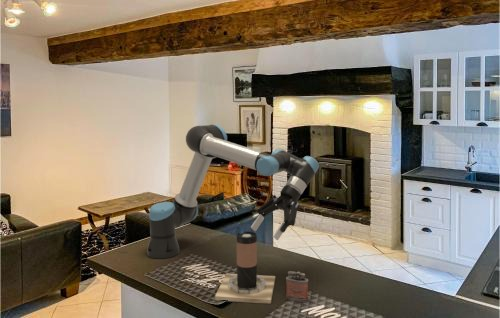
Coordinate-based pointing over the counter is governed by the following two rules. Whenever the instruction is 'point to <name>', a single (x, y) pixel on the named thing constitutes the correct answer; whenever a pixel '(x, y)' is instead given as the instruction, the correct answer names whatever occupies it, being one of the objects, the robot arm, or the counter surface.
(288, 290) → the lighter
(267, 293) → the dock board
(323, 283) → the counter surface
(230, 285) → the dock collar
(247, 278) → the travel mug
